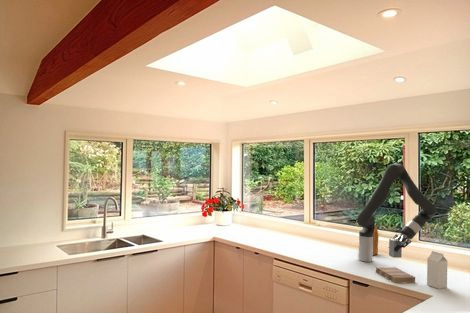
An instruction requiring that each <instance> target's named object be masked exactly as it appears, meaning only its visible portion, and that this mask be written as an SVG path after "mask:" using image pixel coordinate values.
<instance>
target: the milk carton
mask: <svg viewBox="0 0 470 313" xmlns="http://www.w3.org/2000/svg"><path fill="white" fill-rule="evenodd" d="M426 266H427V267H426V270H427V271H426V272H427V273H426V285H427V286H430V287H431V288H435V289H437V290H438V289H439V290H441V289H445V288H448V260H447V258H446V257H445V255H444V253H440V252H437V251H434V250H432V251H431V252H430V254H429V256H428V257H427V265H426Z"/></svg>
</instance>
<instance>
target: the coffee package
mask: <svg viewBox="0 0 470 313" xmlns="http://www.w3.org/2000/svg"><path fill="white" fill-rule="evenodd" d="M377 254H379V231H378V225H375V229H374V234H373V256H375V255H377Z"/></svg>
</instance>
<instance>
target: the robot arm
mask: <svg viewBox="0 0 470 313" xmlns="http://www.w3.org/2000/svg"><path fill="white" fill-rule="evenodd" d="M407 171H408V170H406V168H405V166H404V165H403V164H401V163H392V164H390V165H388V166H387V167H386V169H385V171H384V174H383V175H382V178H381V180H380V181H379V183H378V185H377V186H376V188H375V190H374V191H373V192H372V194H371V197H370V198H369V199H368V202H367V203H366V205H365V206H364V208H362V210H361V212H360V213H359V214H358V216H357V218H356V222H357V224H358V226H360V227H362V228H361V230H359V233H358V234H359V235H358V256H357V257H358V260H359V261H360V262H366V263H372V262H373V256H374V255H373V234H374V229H375V226H376V219H375V215H373V214H374V213H375V212H376V211H377V210H379V208H381V207H382V206H383V205H384V204H385V202H386V201H387V199H388V197H389V195H390V190H391V187H392V184H393V183H394V182H395V181H396V179H399V180H400V182H401V183H402V184H403V185H404V188H405V191H406V193H407V194H408V196H409V197H410V199H411V201H412V202H413V203H414V204H416V205H417V206H419V207H420V208H421V210H420V211H419V212H418V214H416V215H415V216H414V217H413V218H412V219H411V220H410V221H408V222H407V224H405V225H404V227H403V228H402V229H401V230H400V234H397V233H396V234H395V235H394V236H393V237H392V239H398V240H400V243H399V244H398V245H397V246H396V247H395V248H394V250H395V252H397V251H398V250H399V249H400V248H403V249H405V248H406V247H407V246H408V245H410V244H411V243H412V239H413V238H415V236H416V235H417V234H418V233H419V232H420V230H421V229H422V228H423V227H424V226H425V225H426V223H428V221H429V220H430V219H431V218H432V217H434V215H435V214H436V213H437V207H436V206H435V205H434V204H433V202H431V201H430V199H428V198H426V196H425V195H424V194H423V192H421V190H420V189H419V188H418V186H417V185H416V184H415V182H414V181H413V180H412V178H411V176H410V174H409V173H408V172H407Z"/></svg>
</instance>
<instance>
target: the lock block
mask: <svg viewBox="0 0 470 313" xmlns="http://www.w3.org/2000/svg"><path fill="white" fill-rule="evenodd" d="M399 243H400V240H398V239H393V238H389V239H388V256H389V257H392V258H393V259H394V258H395V259H396V258H397V259H399V258H402V248H403V247H402V248H400V249H399V250H398V251H397V252H395V250H394V248H395V247H396V246H397V245H398V244H399Z"/></svg>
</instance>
